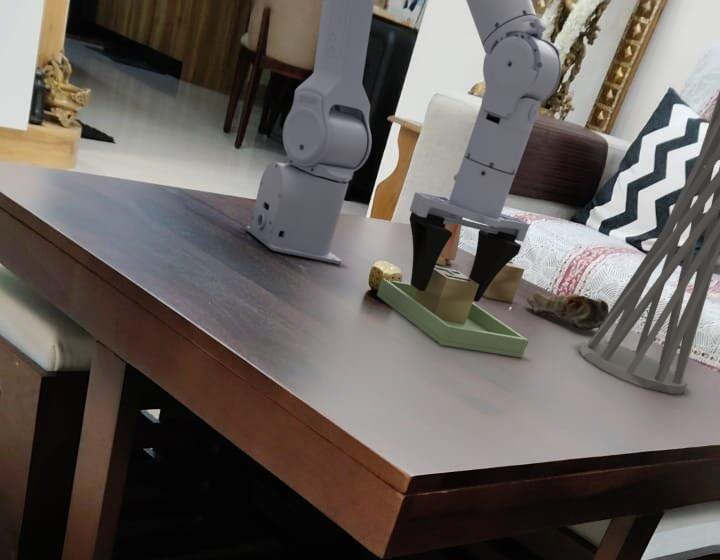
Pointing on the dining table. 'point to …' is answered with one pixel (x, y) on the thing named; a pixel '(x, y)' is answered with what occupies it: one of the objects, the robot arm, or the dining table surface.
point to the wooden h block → (448, 295)
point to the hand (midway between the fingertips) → (444, 293)
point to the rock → (571, 309)
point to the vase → (636, 362)
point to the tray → (454, 323)
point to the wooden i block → (505, 283)
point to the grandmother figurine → (450, 242)
